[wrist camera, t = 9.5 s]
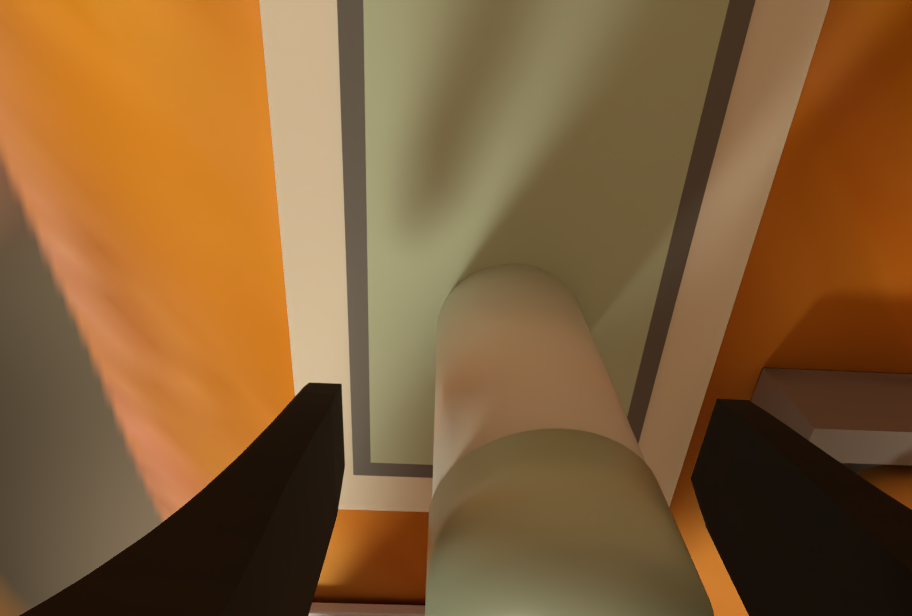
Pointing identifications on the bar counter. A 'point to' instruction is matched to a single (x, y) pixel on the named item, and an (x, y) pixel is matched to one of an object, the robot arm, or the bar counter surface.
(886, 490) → the button
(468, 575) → the cylinder
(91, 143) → the bar counter surface
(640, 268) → the picture sheet
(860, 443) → the button housing
